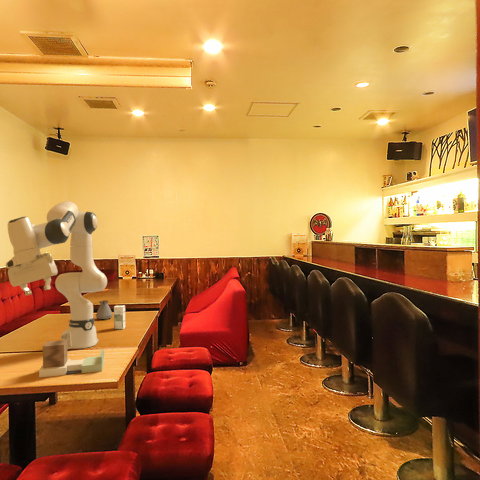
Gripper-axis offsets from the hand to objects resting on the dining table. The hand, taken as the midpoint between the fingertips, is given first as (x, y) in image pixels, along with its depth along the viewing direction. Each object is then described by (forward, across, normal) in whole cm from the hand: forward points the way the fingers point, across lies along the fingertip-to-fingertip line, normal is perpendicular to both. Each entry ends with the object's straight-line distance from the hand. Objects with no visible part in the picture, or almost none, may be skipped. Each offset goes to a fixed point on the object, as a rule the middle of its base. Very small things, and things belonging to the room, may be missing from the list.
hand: (38, 292), depth 143 cm
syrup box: (+36, +32, -86) cm, 98 cm away
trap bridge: (+36, +8, -14) cm, 40 cm away
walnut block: (+32, +12, -11) cm, 36 cm away
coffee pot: (+32, +57, -106) cm, 124 cm away
